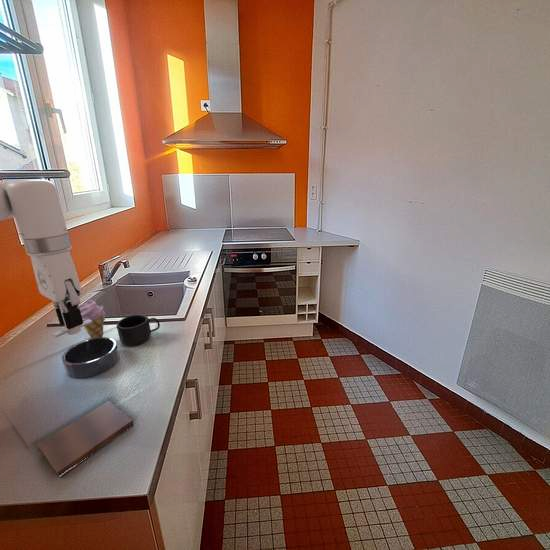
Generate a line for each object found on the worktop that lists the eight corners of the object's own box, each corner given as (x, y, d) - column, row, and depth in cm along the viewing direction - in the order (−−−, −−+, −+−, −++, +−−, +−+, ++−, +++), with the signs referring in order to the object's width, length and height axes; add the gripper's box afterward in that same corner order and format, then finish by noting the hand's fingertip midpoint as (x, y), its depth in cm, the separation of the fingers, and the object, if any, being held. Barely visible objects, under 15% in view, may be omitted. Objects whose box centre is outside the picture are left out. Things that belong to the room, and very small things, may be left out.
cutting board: (59, 478, 53) (57, 472, 53) (39, 449, 59) (36, 444, 58) (134, 425, 64) (132, 420, 63) (110, 405, 70) (109, 400, 69)
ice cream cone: (109, 337, 98) (99, 294, 93) (115, 344, 93) (104, 300, 88) (86, 345, 94) (73, 301, 88) (91, 353, 89) (78, 308, 84)
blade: (57, 341, 64) (47, 309, 62) (52, 337, 66) (42, 306, 63) (94, 326, 70) (86, 296, 67) (89, 323, 71) (81, 294, 69)
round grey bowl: (79, 387, 76) (74, 371, 74) (59, 369, 83) (54, 353, 81) (128, 361, 85) (124, 346, 83) (106, 347, 92) (102, 332, 91)
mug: (122, 352, 89) (117, 331, 87) (119, 338, 97) (115, 319, 94) (164, 340, 95) (160, 320, 93) (158, 328, 102) (155, 309, 100)
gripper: (11, 243, 62) (38, 321, 69) (42, 254, 53) (69, 343, 60) (52, 236, 68) (73, 309, 74) (87, 244, 59) (107, 327, 66)
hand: (71, 323), depth 67 cm, fingers closed on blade, 2 cm apart
